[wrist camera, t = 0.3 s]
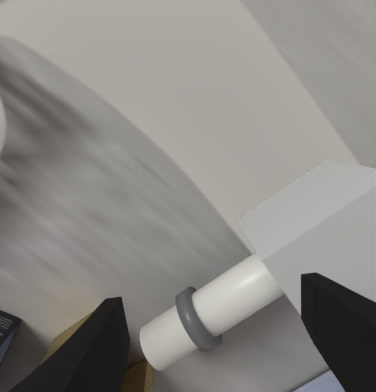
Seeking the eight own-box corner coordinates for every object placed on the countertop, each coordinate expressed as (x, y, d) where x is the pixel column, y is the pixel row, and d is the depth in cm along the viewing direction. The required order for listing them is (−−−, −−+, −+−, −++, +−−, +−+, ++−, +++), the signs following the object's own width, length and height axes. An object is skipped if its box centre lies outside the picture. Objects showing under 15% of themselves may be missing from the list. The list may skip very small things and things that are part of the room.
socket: (99, 307, 22) (69, 382, 15) (154, 362, 23) (147, 450, 17) (54, 338, 22) (6, 422, 16) (110, 390, 24) (88, 485, 18)
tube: (341, 172, 19) (387, 185, 15) (366, 217, 20) (416, 241, 16) (139, 307, 21) (130, 352, 17) (171, 342, 22) (170, 392, 18)
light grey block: (327, 158, 19) (396, 173, 13) (364, 224, 21) (441, 264, 15) (235, 220, 20) (261, 260, 14) (278, 279, 22) (317, 338, 16)
